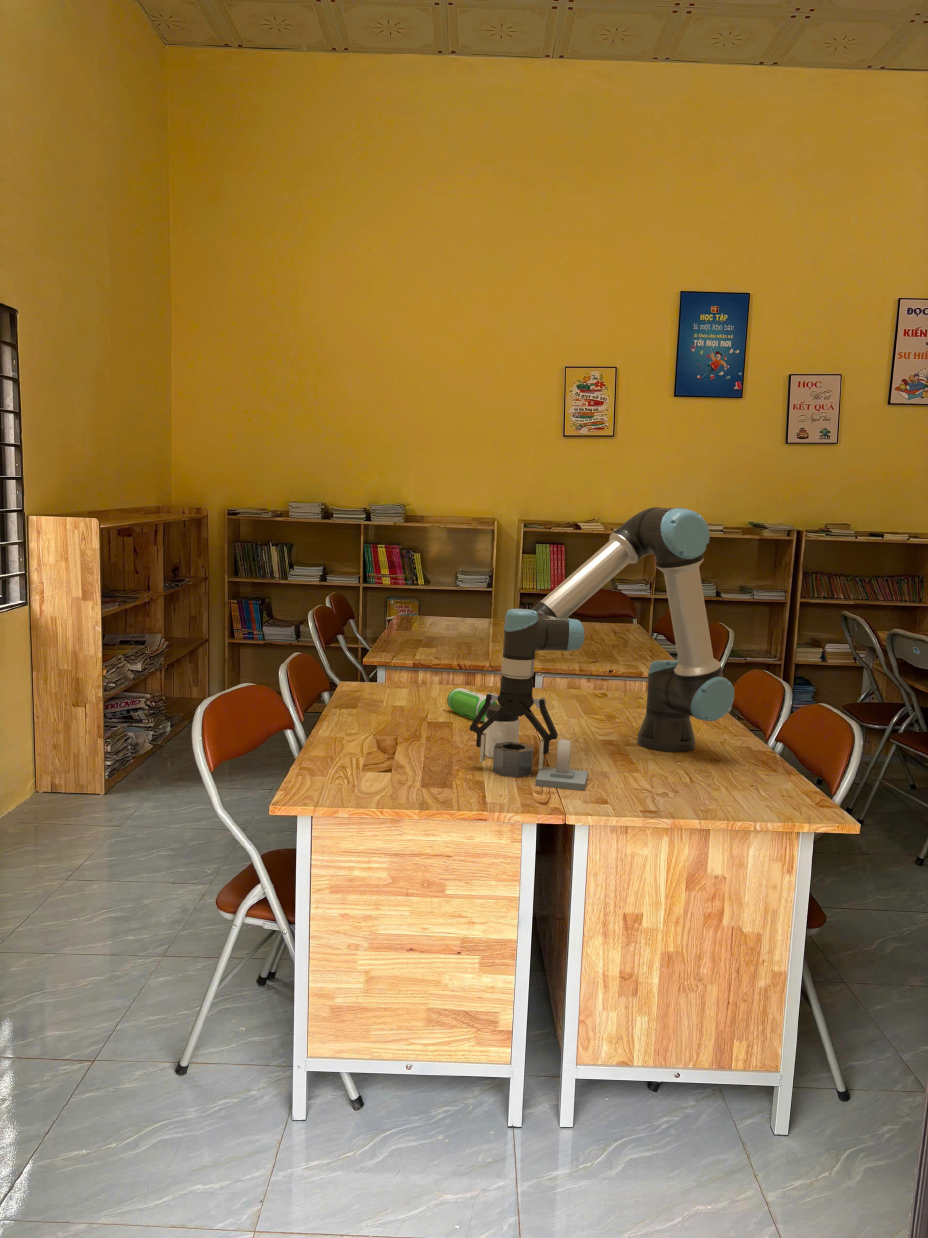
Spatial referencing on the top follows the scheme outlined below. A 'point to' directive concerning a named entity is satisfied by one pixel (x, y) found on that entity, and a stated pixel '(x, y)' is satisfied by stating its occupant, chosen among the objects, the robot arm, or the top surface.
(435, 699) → the top surface
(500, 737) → the jar
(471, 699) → the speaker
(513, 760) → the tube
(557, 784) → the shaft stand
